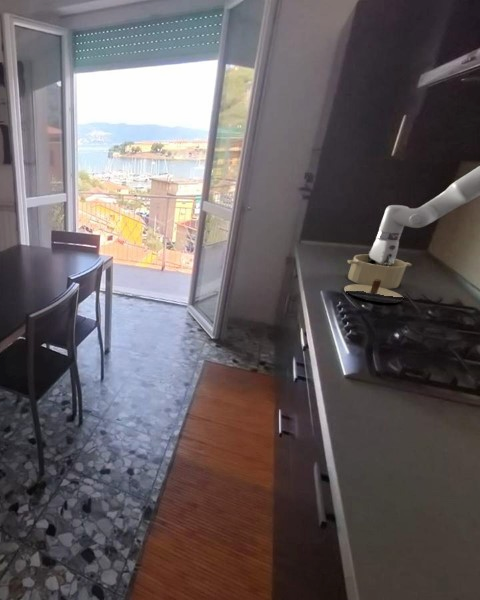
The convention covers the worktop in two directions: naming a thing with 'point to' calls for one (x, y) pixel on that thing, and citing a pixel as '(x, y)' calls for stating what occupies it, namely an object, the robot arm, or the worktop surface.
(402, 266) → the pot
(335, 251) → the worktop surface
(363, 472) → the worktop surface
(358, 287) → the lid
